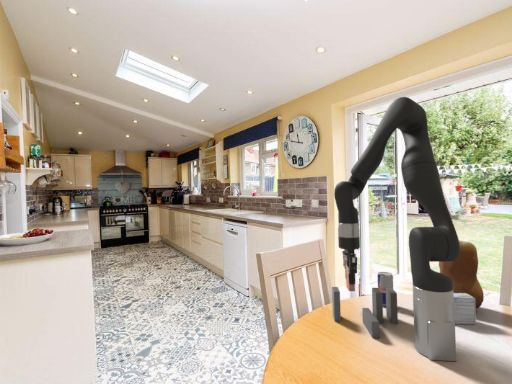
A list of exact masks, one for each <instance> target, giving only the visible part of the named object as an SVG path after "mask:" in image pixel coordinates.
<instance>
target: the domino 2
mask: <svg viewBox="0 0 512 384" xmlns="http://www.w3.org/2000/svg"><path fill="white" fill-rule="evenodd" d="M345 262H346V261H345ZM348 264H349V263H348ZM345 270H346V278H345V284H346V285H345V286H346V289H347V291H348V292H356V283H355V284H349V278H348V267H346V269H345ZM351 270H354V268H353V267H352V268H351Z"/></svg>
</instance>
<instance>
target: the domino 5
mask: <svg viewBox="0 0 512 384" xmlns="http://www.w3.org/2000/svg"><path fill="white" fill-rule="evenodd" d="M385 310H386V313H385V314H386V315H385V316H386V319H387V320H388V321H389V323H390V324H391V325H398V324H399V319H398V318H399V315H398V314H399V313H398V294H397V292H396V291H395V290H394V288H393V289H392V288H386V309H385Z"/></svg>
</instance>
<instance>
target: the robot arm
mask: <svg viewBox="0 0 512 384" xmlns="http://www.w3.org/2000/svg"><path fill="white" fill-rule="evenodd" d="M427 117H428V116H427V113H426V111H425V109H424V107H423V106H422V105H420V104H419V103H418V102H416V101H415V100H413V99H412V98H410V97H407V96H401V97H400V96H399V97H398V98H396V99H395V100H393V102H391V103H390V104H389V106H388V107H387V108H386V110H385V112H384V114H383V116H382V118H381V119H380V122H379V124H378V126H377V127H376V130H375V131H374V133H373V135H372V138H371V139H370V141H369V143H368V145H367V146H366V147H365V150H364V151H363V152H362V154H361V155H360V157H359V158H358V160H357V161H356V162H355V164H354V165H353V166H352V168H351V169H350V174H351V175H350V177H349V179H348V180H347V181H345V180H344V181H340V182H338V183H337V184H336V185H335V188H334V190H333V191H334V192H333V193H334V200H335V204H336V207H337V211H338V212H337V213H338V214H337V216H338V221H337V222H338V228H337V232H338V233H337V236H338V237H337V239H338V243H337V244H338V248H339V249H341V250H342V252H341V253H342V265H343V268H344V271H345V273H344V274H345V277H344V278H345V279H346V267H348V278H349V284H355V285H356V274H357V273H358V257H357V254H356V253H355V250H359V249H360V248H361V237H360V236H361V233H360V232H361V230H360V226H359V225H360V224H359V211H358V209H357V208H356V207H355V204H354V200H356V199H358V198H359V197H360V195H362V193H363V191H364V190H365V187H366V185H367V183H368V181H369V179H371V177H372V176H373V175H374V173H376V171H377V170H378V168H379V167H380V165H381V164H382V162H383V158H384V155H385V150H386V147H387V144H388V142H389V140H390V138H391V137H392V135H393V134H394V133H395V131H396V130H399V131H400V132H401V134H402V138H403V140H404V146H405V148H404V149H405V150H404V154H403V156H402V159H401V164H400V165H401V166H400V170H401V176H402V181H403V185H404V188H405V189H406V190H407V192H408V194H409V195H411V197H412V198H414V200H415V201H417V202H418V204H420V206H422V208H423V209H424V210H425V212H426V213H427V214H428V216H429V218H430V220H431V221H430V222H431V223H432V226H417V227H415V226H414V227H413V228H412V229H411V230H410V232H409V234H408V235H409V236H408V249H409V259H410V272H411V277H412V300H413V301H412V302H413V304H412V307H413V333H414V334H413V336H414V348H415V350H416V351H417V352H418V353H419V354H421V355H424V356H425V357H427V358H428V359H429V360H430V361H431V360H432V361H448V362H457V343H456V341H457V340H456V338H457V337H456V324H454V298H453V281H452V279H451V278H450V277H449V276H447V275H445V274H442V273H440V271H439V272H438V271H435V270H434V269H432V268H431V264H430V262H432V263H433V262H435V263H436V262H438V263H439V262H451V261H455V260H457V259H458V257H459V255H460V244H459V240H460V239H459V236H458V233H457V230H456V227H455V224H454V222H453V220H452V216H451V213H450V211H449V208H448V205H447V202H446V198H445V195H444V191H443V187H442V183H441V177H440V173H439V169H438V165H437V162H436V159H435V154H434V151H433V147H432V143H431V141H430V136H429V130H428V129H429V128H428V119H427ZM345 261H346V262H345ZM348 263H349V264H348ZM352 267H353V268H354V270H351V268H352Z"/></svg>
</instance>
